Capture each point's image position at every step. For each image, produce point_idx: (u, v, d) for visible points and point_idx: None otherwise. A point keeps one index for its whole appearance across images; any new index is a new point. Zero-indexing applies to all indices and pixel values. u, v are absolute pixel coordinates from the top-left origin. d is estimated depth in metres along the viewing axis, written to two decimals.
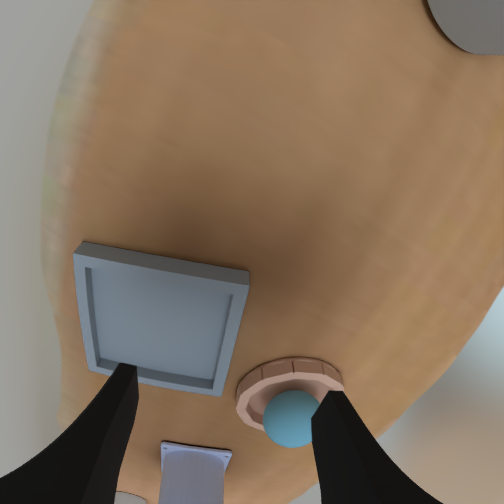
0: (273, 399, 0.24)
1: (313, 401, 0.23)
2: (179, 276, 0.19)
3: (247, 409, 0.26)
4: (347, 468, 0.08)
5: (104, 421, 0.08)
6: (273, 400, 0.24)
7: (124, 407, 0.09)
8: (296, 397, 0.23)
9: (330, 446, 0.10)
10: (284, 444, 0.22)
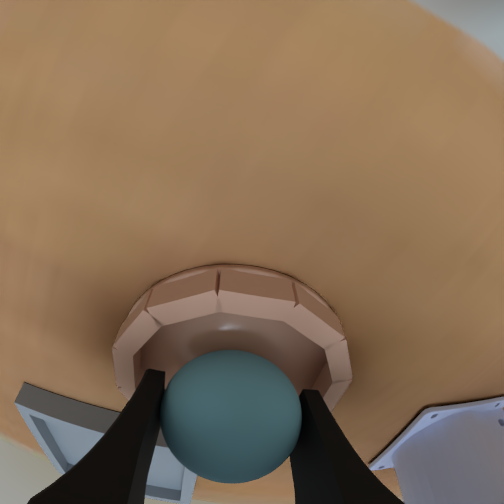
0: None
1: (168, 386, 0.10)
2: (35, 437, 0.15)
3: None
4: (318, 470, 0.08)
5: (139, 429, 0.08)
6: None
7: (155, 414, 0.09)
8: None
9: (303, 446, 0.10)
10: (239, 482, 0.09)
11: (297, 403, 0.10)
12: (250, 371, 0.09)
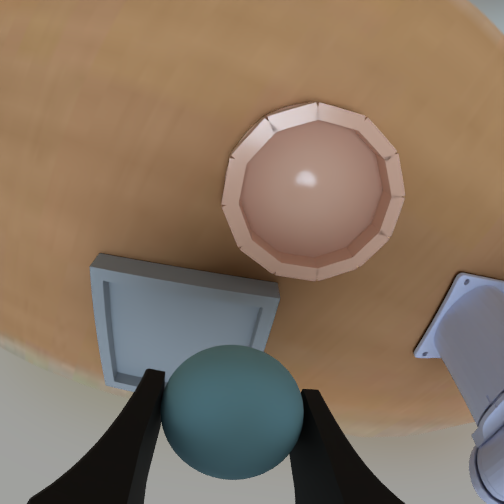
0: None
1: (170, 380, 0.10)
2: (97, 321, 0.19)
3: (326, 261, 0.18)
4: (318, 470, 0.08)
5: (138, 429, 0.08)
6: None
7: (155, 414, 0.09)
8: None
9: (303, 446, 0.10)
10: None
11: (300, 399, 0.10)
12: (254, 367, 0.10)
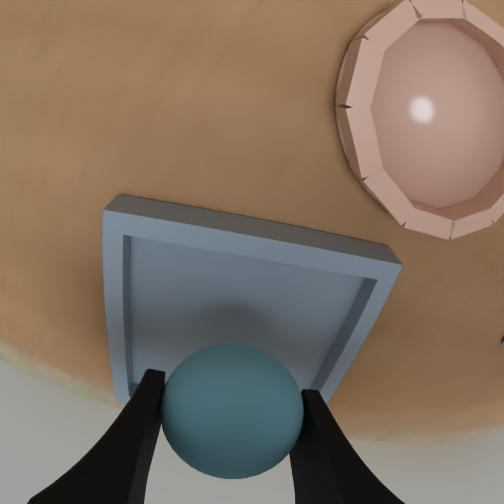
0: None
1: (171, 378, 0.10)
2: (108, 306, 0.12)
3: (459, 213, 0.11)
4: (318, 470, 0.08)
5: (139, 429, 0.08)
6: None
7: (155, 414, 0.09)
8: None
9: (303, 446, 0.10)
10: (239, 478, 0.09)
11: (300, 399, 0.10)
12: (255, 366, 0.10)
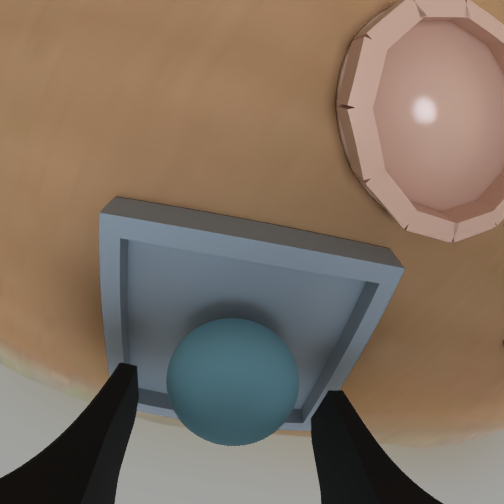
0: None
1: (177, 349, 0.11)
2: (105, 310, 0.12)
3: (462, 215, 0.11)
4: (347, 468, 0.08)
5: (104, 421, 0.08)
6: None
7: (124, 407, 0.09)
8: None
9: (330, 446, 0.10)
10: (239, 445, 0.10)
11: (295, 368, 0.11)
12: (254, 335, 0.11)
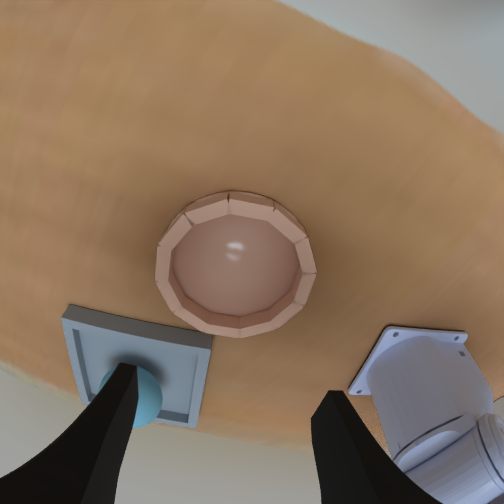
0: None
1: None
2: (71, 356, 0.22)
3: (248, 322, 0.21)
4: (347, 468, 0.08)
5: (104, 421, 0.08)
6: None
7: (124, 407, 0.09)
8: None
9: (329, 446, 0.10)
10: None
11: (155, 393, 0.21)
12: None
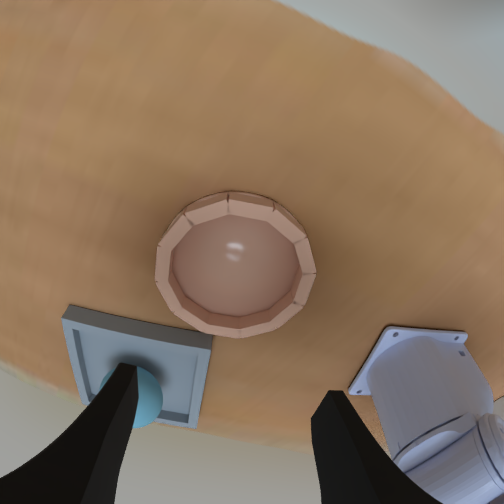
0: None
1: (103, 379, 0.21)
2: (71, 357, 0.22)
3: (247, 323, 0.21)
4: (347, 468, 0.08)
5: (104, 421, 0.08)
6: None
7: (124, 407, 0.09)
8: None
9: (330, 446, 0.10)
10: None
11: (156, 393, 0.21)
12: None
